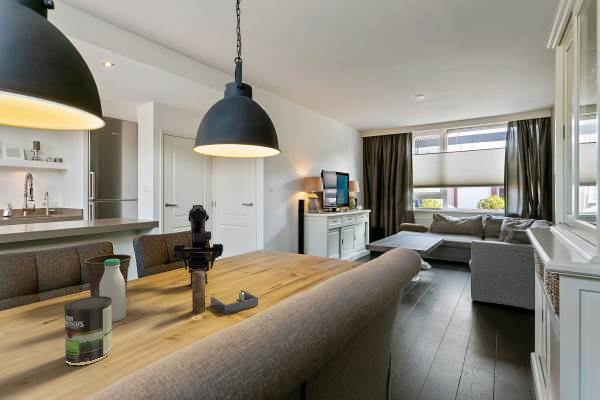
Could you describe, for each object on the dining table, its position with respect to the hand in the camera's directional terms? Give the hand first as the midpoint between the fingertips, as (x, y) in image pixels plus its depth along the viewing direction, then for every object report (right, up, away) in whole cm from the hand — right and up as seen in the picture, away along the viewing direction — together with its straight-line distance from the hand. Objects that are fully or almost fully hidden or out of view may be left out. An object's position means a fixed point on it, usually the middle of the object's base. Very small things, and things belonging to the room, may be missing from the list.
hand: (199, 269), depth 121 cm
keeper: (+14, -13, -2) cm, 19 cm away
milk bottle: (-24, -14, -15) cm, 32 cm away
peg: (+3, -13, -8) cm, 16 cm away
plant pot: (-38, -13, +6) cm, 41 cm away
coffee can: (-16, -14, -39) cm, 45 cm away
